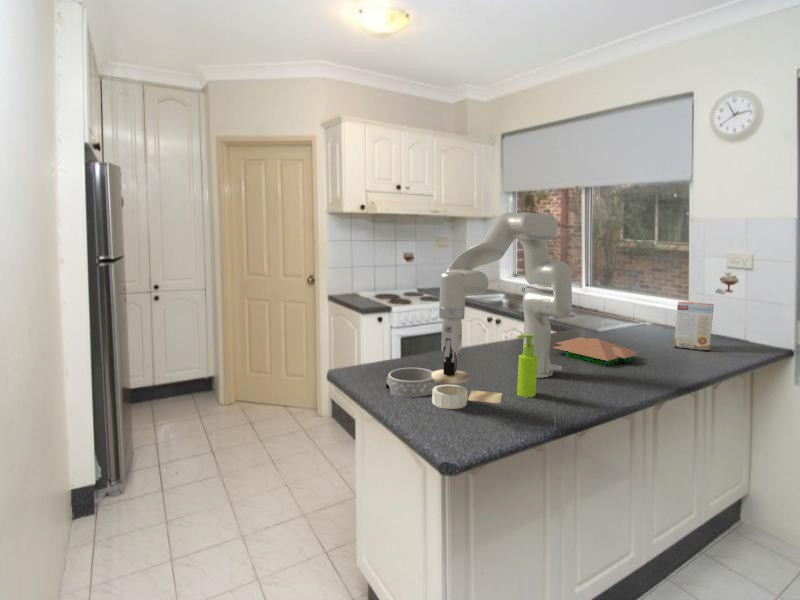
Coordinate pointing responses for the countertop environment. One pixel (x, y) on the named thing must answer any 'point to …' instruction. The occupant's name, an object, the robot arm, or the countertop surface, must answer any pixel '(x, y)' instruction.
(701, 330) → the cracker box
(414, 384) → the dog bowl
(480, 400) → the mat
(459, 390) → the bowl
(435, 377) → the lid
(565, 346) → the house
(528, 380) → the soap dispenser
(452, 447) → the countertop surface
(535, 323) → the robot arm
